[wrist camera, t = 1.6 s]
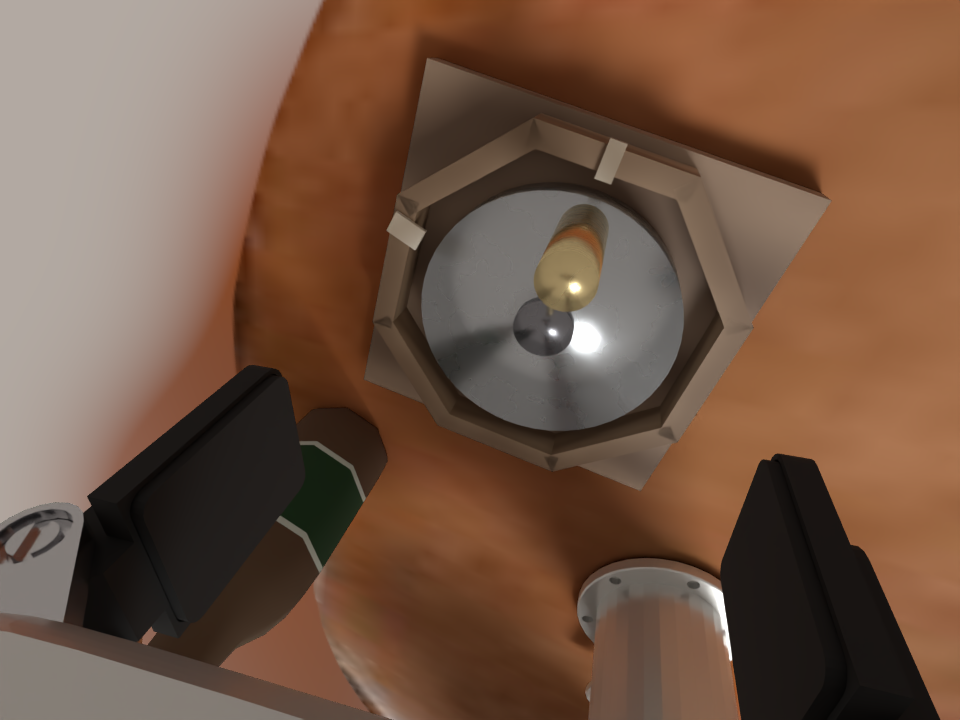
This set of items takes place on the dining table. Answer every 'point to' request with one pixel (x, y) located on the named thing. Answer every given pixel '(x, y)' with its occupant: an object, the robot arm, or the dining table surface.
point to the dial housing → (621, 174)
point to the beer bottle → (291, 537)
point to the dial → (553, 307)
